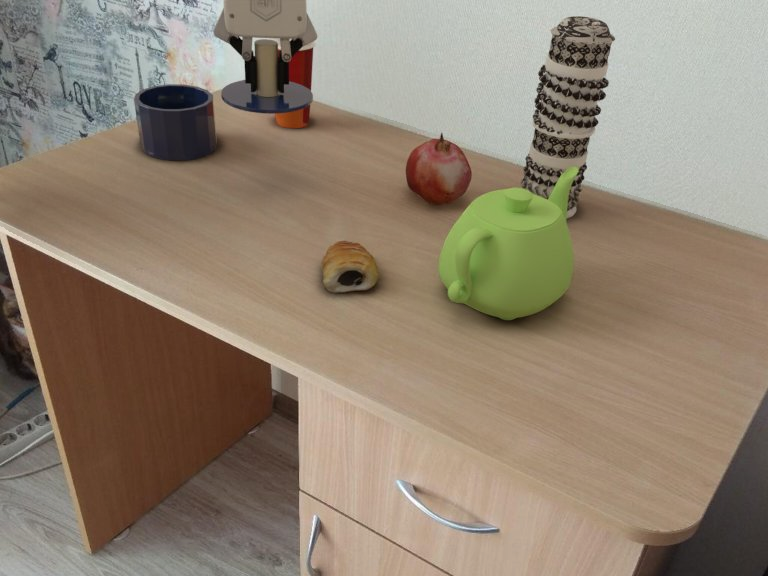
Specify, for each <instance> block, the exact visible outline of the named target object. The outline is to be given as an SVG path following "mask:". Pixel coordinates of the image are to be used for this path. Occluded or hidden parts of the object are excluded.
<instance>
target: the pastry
mask: <svg viewBox="0 0 768 576" xmlns="http://www.w3.org/2000/svg"><path fill="white" fill-rule="evenodd" d="M321 268H322V274H323V281H322V283H323V285H324V287H325V288H326V290H327V291H329V292H331V293H334V294H337V293H339V294H340V293H347V292H353V291H354V292H355V291H357V292H358V291H368V290H370V289H371V288H373V287H374V286H375V285H376V284H377V282H378V280H379V277H380V272H379V267H378V265H377V261H376V259H375V258H374V256H373V255H372V254H371V253H370V252H369V251H368V250H367V249H366V247H364V246H363V245H361V244H360V243H358V242H353V241H348V240H339V241H337V242H335V243H334V244H333V245H330V246H328V248H327V250H326V252H325V255H324V256H323V258H322V261H321Z"/></svg>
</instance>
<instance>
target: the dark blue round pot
mask: <svg viewBox="0 0 768 576" xmlns="http://www.w3.org/2000/svg"><path fill="white" fill-rule="evenodd" d="M214 102H215V101H214V95H213V93H211V92H210V91H209V90H208V89H206V88H203V87H200V86H197V85H196V86H195V85H190V84H182V83H180V84H179V83H176V84H174V83H173V84H171V83H167V84H159V85H153V86H150V87H147V88H143V89H141V90H140V91H138V92H136V93H135V95H134V98H133V103H134V111H135V116H136V123H137V130H138V131H137V132H138V137H139V145H140V146H141V150H142V151H143V152H144V154H146V155H147V156H150V157H152V158H155V159H160V160H164V161H175V162H176V161H190V160H196V159H200V158H203V157H206V156H208V155H210V154H211V153H213V152H214V151H216V149H217V146H218V144H217V143H218V141H217V139H218V137H217V127H216V126H217V125H216V116H215V115H216V113H215V103H214Z"/></svg>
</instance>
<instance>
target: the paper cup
mask: <svg viewBox="0 0 768 576" xmlns="http://www.w3.org/2000/svg"><path fill="white" fill-rule="evenodd" d="M268 39H269V40H274V41H276V42H277V43H278V57H279V52H280V51H281V45H280V38H268ZM291 40H292V39H290V41H291ZM315 46H316V42H315V41H313V42H311V43H309V44H307V45H304V46H303V47H302V48H301V49H300V50H299V51H298V52H297V53H296V54H295V55H294V56H293V57H292V58H291V60H290V61H289V81H290V82H294V83H297V84H300V85H302V86H304V87H306V88H308V89H309V90H310V91H311V92H312V82H313V81H312V79H313V64H314V63H313V61H314V60H313V59H314V47H315ZM310 114H311V104H310V105H309V106H307V107H306V108H303V109H301V110H298V111H293V112H287V113H276V114H274V115H275V123H276V125H278V126H280V127H282V128H286V129H301V128H305V127H307V126H309V124H310Z"/></svg>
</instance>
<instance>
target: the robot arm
mask: <svg viewBox="0 0 768 576" xmlns="http://www.w3.org/2000/svg"><path fill="white" fill-rule="evenodd" d="M307 11H308V10H307V0H223V8H222V10H221V13H220V15H219V17H218V19H217V21H216V23H215V25H214V28H213V35H214V36H215V37H216V38H218V39H219V40H221V41H222V42H224V43H227V44H229V45H230V46H231V47H232V49H234V50H235V51H236V52H237V53H238V54H239V56H240V57H241V58H242V60H244V80H245V83H248V84H251V92H255V91H256V64H255V52H254V50H253V38H254V39H255V38H256V39H258V38H259V39H269V38H280V45H281V51H280V52H279V57H278V90H279V92H280V93H284V84H286V85H289V61H290V60H291V58H292V57H293V56H294V55H295V54H296V53H297V52H298V51H299V50H300V49H301V48H302V47H303V46H304V45H307V44H309V43H311V42H313V41H314V42H315V41H317V39H318V33H317V31H316V28H315V26H314V25H313V21H312V20H311V18H310V16H309V14H308V12H307ZM290 39H292V40H291V41H290Z"/></svg>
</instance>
